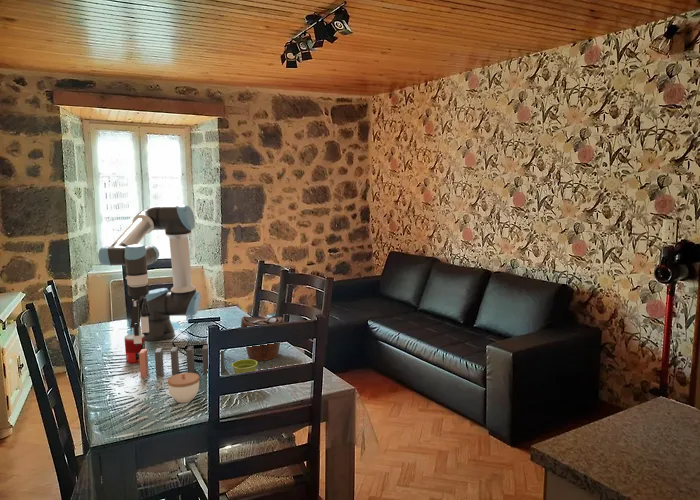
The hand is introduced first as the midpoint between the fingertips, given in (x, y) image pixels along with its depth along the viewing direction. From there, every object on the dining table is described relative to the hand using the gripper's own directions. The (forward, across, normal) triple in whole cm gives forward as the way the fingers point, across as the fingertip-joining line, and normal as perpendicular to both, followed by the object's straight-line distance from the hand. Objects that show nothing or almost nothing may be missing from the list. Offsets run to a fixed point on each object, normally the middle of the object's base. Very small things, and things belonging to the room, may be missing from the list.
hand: (141, 337), depth 208 cm
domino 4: (+15, 0, +18) cm, 24 cm away
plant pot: (+15, +18, +40) cm, 47 cm away
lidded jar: (+15, +26, +19) cm, 36 cm away
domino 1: (+15, 0, 0) cm, 15 cm away
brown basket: (+16, -14, +47) cm, 51 cm away
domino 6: (+15, 0, +30) cm, 34 cm away
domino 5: (+15, 0, +24) cm, 28 cm away
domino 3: (+15, 0, +12) cm, 19 cm away
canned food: (+16, -18, -7) cm, 25 cm away
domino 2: (+15, 0, +6) cm, 16 cm away
